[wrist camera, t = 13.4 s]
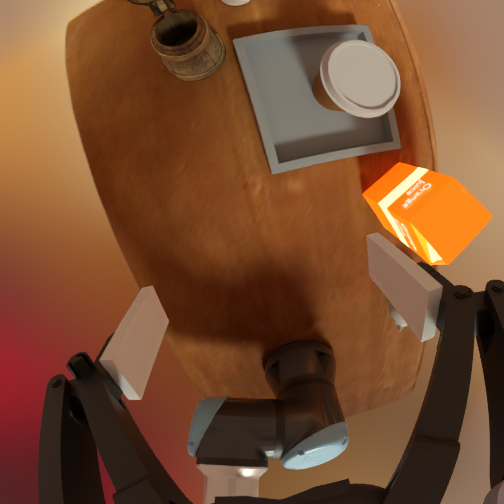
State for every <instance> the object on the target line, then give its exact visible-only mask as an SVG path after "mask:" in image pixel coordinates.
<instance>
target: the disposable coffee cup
mask: <svg viewBox="0 0 504 504" xmlns="http://www.w3.org/2000/svg"><path fill="white" fill-rule="evenodd" d="M400 83H401V82H400V76H399V73H398V70H397V68H396V66H395V64H394V62H393V61H392V59H391V58H390V57H389V56H388V55H387V54H386V53H385V52H384V51H383V50H382V49H380V48H379V47H377V46H376V45H374V44H372V43H369V42H365V41H362V40H343V41H339V42H337V43H335V44H333V45H332V46H331V47H330V48H328V49H327V51H326V52H325V54H324V55H323V57H322V60H321V65H320V70H319V71H318V73H317V75H316V77H315V79H314V81H313V85H312V91H313V95H314V97H315V99H316V100H317V102H318V103H319V104H320V105H321V106H323V107H324V108H326V109H329V110H333V111H341V112H348V113H350V114H352V115H355V116H358V117H363V118H372V117H378V116H380V115H383V114H385V113H386V112H388V111H389V110H390V109H391V108H392V106H393V105H394V104H395V102H396V100H397V99H398V96H399V93H400Z"/></svg>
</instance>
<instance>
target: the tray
mask: <svg viewBox="0 0 504 504" xmlns="http://www.w3.org/2000/svg"><path fill="white" fill-rule="evenodd" d="M343 40H362V41H365V42H369V43H372V44H374V45H375V43H374V40H373V38H372V35H371V32H370V30H369V27H368V25H328V26H313V27H303V28H294V29H286V30H279V31H273V32H267V33H262V34H257V35H252V36H247V37H242V38H238V39H234V40H233V46H234V50H235V53H236V56H237V59H238V62H239V66H240V69H241V72H242V75H243V78H244V82H245V85H246V88H247V91H248V95H249V98H250V101H251V105H252V108H253V112H254V115H255V118H256V122H257V125H258V129H259V132H260V136H261V140H262V143H263V147H264V150H265V154H266V158H267V161H268V165H269V169H270V172H271V173H272V175H273V174H277V173H281V172H285V171H289V170H293V169H297V168H302V167H306V166H311V165H315V164H320V163H324V162H329V161H334V160H339V159H344V158H349V157H354V156H359V155H365V154H371V153H376V152H382V151H388V150H395V149H401V143H400V137H399V132H398V127H397V122H396V117H395V112H394V108H393V106H392V108H391V109H390V110H389V111H388V112H386V113H385V114H383V115H380V116H378V117H372V118H363V117H358V116H355V115H352V114H350V113H348V112H341V111H333V110H329V109H326V108H324V107H323V106H321V105H320V104H319V103H318V102H317V100H316V99H315V97H314V95H313V91H312V85H313V81H314V79H315V77H316V75H317V73H318V71H319V70H320V65H321V60H322V57H323V55H324V54H325V52H326V51H327V49H328V48H330V47H331V46H332V45H333V44H335V43H337V42H339V41H343Z"/></svg>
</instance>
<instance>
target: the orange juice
mask: <svg viewBox="0 0 504 504" xmlns="http://www.w3.org/2000/svg"><path fill="white" fill-rule="evenodd" d="M363 196H364V197H365V199H366V200H367V202H368V203H369V205H370V206H371V208H372V209H373V211H374V212H375V214H376V215H377V217H378V218H379V220H380V221H381V223H382V225H383V226H384V228H386V229H387V230H388V231H390V232H391V233H392V234H393V235H395V236H396V237H397V238H398V239H400V240H401V241H402V242H403V243H404V244H405V245H407V246H408V247H410V248H411V249H412V250H413V251H414V252H416V253H417V254H418V255H419V256H420V257H422V258H423V259H424V260H425V261H426V262H427V263H429V264H430V265H436V264H447V265H448V264H449V263H450V262H451V261H452V260H453V259H454V258H455V257H456V256H457V255H458V254H459V253H460V252H461V251H462V250H463V249H464V248H465V247H466V246H467V245H468V244H469V243H470V242H471V241H472V240H473V239H474V237H475V236H476V235H477V234H478V233H479V232H480V231H481V230H482V228H483V227H484V226H485V225H486V224H487V223H488V222H489V221H490V219H491V218H492V217H493V216H492V215H491V214H490V213H489V212H488V211H487V210H486V209H485V207H484V206H483V205H482V204H481V203H480V202H479V201H478V200H477V199H476V198H475V197H474V196H473V195H472V194H471V193H470V192H469V191H468V190H467V189H466V188H465V187H464V186H463V185H462V184H460V183H459V182H458V181H457V180H456V179H455V178H452V177H449V176H446V175H443V174H439V173H436V172H433V171H429V170H427V169H424V168H420V167H415V166H412V165H408V164H404V163H400V162H398V163H397V164H396V165H395V166H394V167H393V168H392V169H390V170H389V171H388V172H387V173H386V174H385V175H384V176H382V177H381V178H380V179H379V180H378V181H377V182H375V183H374V184H373V185H372V186H371V187H370V188H368V189H367V190H366V191H365V192H364V193H363Z"/></svg>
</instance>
